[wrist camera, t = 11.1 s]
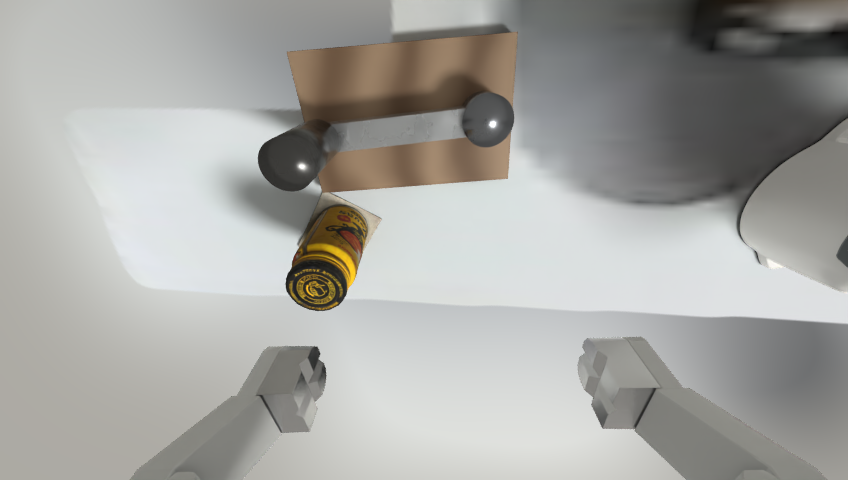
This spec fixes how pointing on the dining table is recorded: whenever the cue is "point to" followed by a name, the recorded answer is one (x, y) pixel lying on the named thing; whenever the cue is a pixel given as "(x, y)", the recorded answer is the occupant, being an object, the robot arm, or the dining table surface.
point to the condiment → (329, 253)
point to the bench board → (406, 105)
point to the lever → (380, 136)
